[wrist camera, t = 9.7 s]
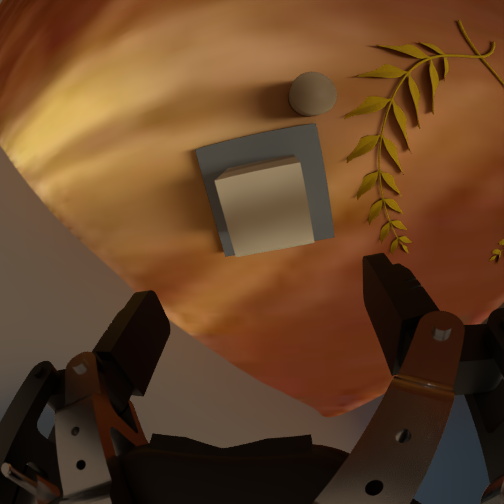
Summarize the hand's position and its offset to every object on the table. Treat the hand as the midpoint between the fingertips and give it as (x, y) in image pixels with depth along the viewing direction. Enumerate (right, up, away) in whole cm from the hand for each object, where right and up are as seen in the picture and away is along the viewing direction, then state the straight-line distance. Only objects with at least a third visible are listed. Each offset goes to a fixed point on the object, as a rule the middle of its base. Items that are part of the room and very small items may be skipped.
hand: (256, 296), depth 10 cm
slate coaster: (+1, +7, +16) cm, 18 cm away
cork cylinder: (+5, +16, +12) cm, 20 cm away
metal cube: (+1, +7, +15) cm, 16 cm away
